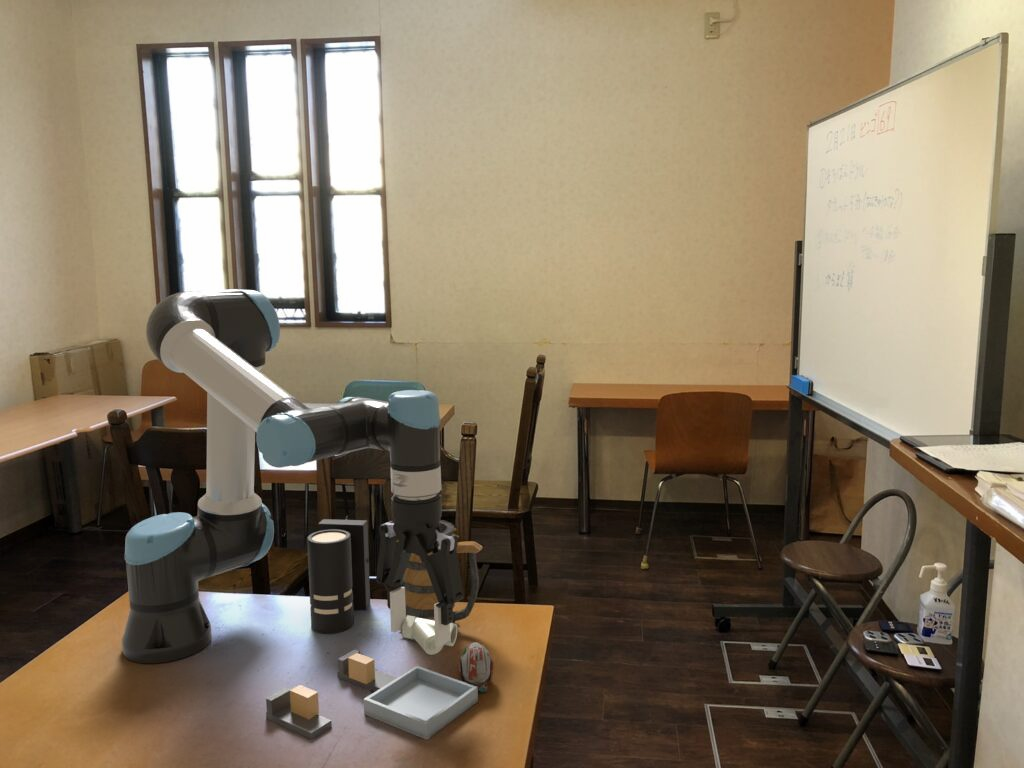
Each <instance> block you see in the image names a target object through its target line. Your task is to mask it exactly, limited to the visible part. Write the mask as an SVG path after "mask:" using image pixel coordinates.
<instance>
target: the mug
mask: <svg viewBox="0 0 1024 768" xmlns="http://www.w3.org/2000/svg"><path fill="white" fill-rule="evenodd" d="M439 526H440V529H441V531H442V533H443V534H445V535H447V536H452V535H456V536H457V538H460V535H458V534H456V533H455V531H457V528H456V527H455V525H454V524H453V523H451V522H448V521H447V520H444V519H440V521H439ZM397 543H398V539H396V544H397ZM438 545H439V542H438ZM439 546H440V545H439ZM483 549H484V548H483V546H482V545H481V544H479V543H478V542H476V541H474V540H473V541H472V540H471V541H469V540H468V541H459V542H457V550H456V551H457V554H464V553H466V554H468V563H469V569H470V575H471V576H470V577H471V578H470V579H471V589H470V593H469V594H470V595H469V598H468V602H467V604H466V606H465V607H464V608H463V609H461V610H456V611H454V610H453V621H452V622H451V623H454V624H457V623H456V622H457V621H461V620H465V619H466V618H467V617H469V616H470V615H471V612H472V610H473V608H474V607H475V604H476V603H475V602H476V600H477V597H478V593H479V587H480V576H479V568H478V563H477V560H478V559H477V553H479V552H480V551H482V550H483ZM430 554H432V552H430V553H428V555H430ZM402 581H403V582H404V583H403V584H401V585H400V586H402V587H405V606H406V617H407V615H409V616H415V617H419V618H423V619H429V620H434V605H435V604H436V603H438V600H437V597H436V594H435V592H434V589H433V586H432V583H431V580H430V577H429V575H428V572H427V569H426V566H425V564H424V563H422V562H421V559H420V556H418V555H416V554H414V553H412V554H411V556H410V559H409V562H408V565H407V568H406V570H405V573H404V576H403V579H402ZM401 583H402V582H401ZM455 604H456V603H454V604H453V609H454V608H455V606H456V605H455ZM461 627H462V626H461V625H459V624H457V629H458V628H461ZM398 634H400V635H402V629H400V630H399V631H398ZM407 639H408V640H411V641H416V640H415V639H410V638H407ZM416 642H417V641H416Z"/></svg>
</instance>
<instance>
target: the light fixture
mask: <svg viewBox="0 0 1024 768" xmlns="http://www.w3.org/2000/svg"><path fill="white" fill-rule="evenodd" d="M317 527H318V531H315V532H312V533H310V534H309V535H308V536H307V538H306V543H307V544H306V545H307V546H306V547H307V561H308V562H307V563H308V567H307V568H308V583H309V586H308V587H309V588H308V589H309V603H310V604H309V605H310V625H311V626H310V627H311V629H312V631H313V632H316V633H319V634H325V635H327V634H328V635H330V634H332V635H333V634H337V633H338V634H339V633H342V632H345V631H347V630H349V629H351V628H352V627H354V624H355V617H354V615H355V613H354V611H367V610H368V608H369V607H370V606H371V589H370V587H371V586H370V581H371V580H370V559H369V558H370V557H369V533H368V531H369V530H368V529H369V527H368V520H366V519H365V520H362V519H359V520H358V519H356V520H355V519H331V518H330V519H327V518H322V520H320V521H319V522H318V524H317Z"/></svg>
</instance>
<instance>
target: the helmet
mask: <svg viewBox="0 0 1024 768" xmlns="http://www.w3.org/2000/svg"><path fill="white" fill-rule="evenodd" d="M494 665H495V662H494V660H493V659H492V658H491V654H490V652H489V650H488V649H487V647H486V646H485V645H483V644H482V643H479V642H477V641H475V642H472V643H470V644H468V645H466V647H465V648H464V649H463V651H462V653H461V656H460V660H459V661H458V663H457V669H458V671H457V672H458V677H459V680H460V681H462V682H465V683H466V681H467V683H469V684H470V683H471V684H473V685H474V686H476V687H478V692H480V693H485V692H487V690H488V685H487V684H489V683H490V682H491V680H492V678H493V675H494V668H495V667H494ZM484 682H485V683H484ZM483 683H484V684H483ZM479 684H481V685H479Z"/></svg>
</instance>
